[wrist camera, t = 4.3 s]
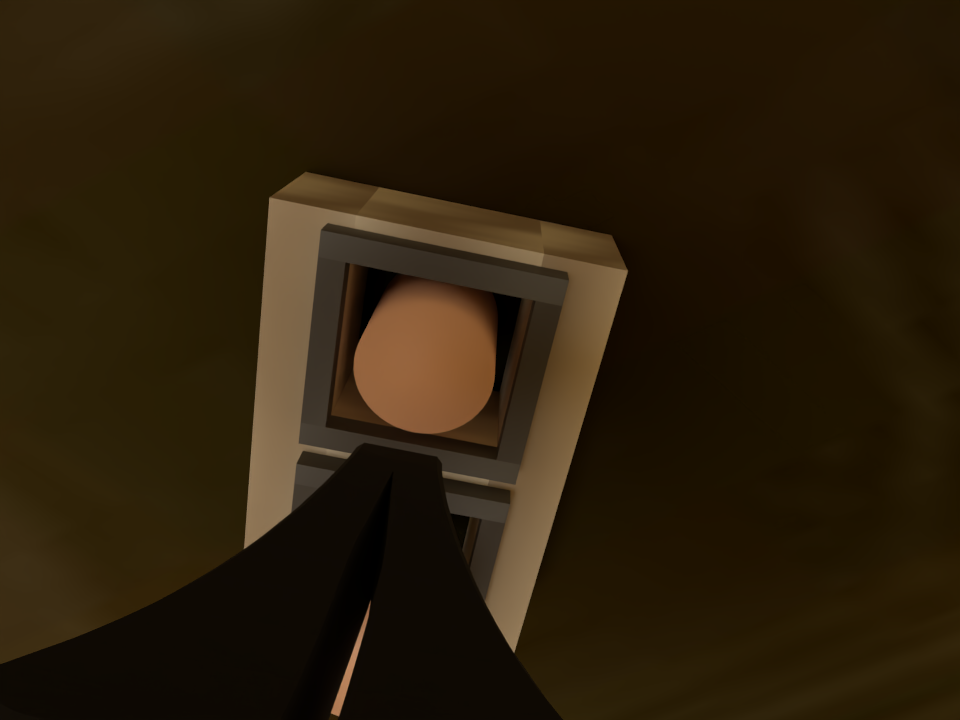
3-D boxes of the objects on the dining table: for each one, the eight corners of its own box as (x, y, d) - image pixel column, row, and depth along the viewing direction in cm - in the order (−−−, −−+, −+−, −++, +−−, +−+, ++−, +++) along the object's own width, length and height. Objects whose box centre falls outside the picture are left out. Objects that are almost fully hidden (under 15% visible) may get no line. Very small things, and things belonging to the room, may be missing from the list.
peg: (509, 273, 19) (508, 321, 16) (485, 380, 20) (480, 445, 17) (388, 248, 19) (363, 292, 16) (371, 358, 20) (345, 419, 17)
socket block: (611, 235, 19) (631, 279, 15) (513, 584, 24) (512, 673, 20) (306, 172, 18) (260, 203, 15) (272, 540, 23) (232, 623, 20)
